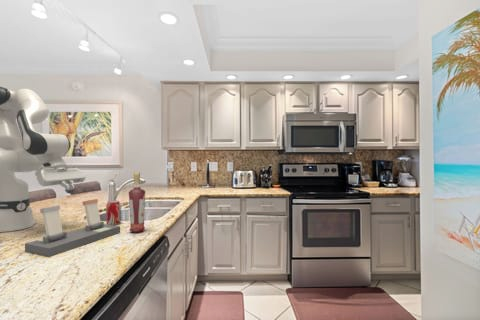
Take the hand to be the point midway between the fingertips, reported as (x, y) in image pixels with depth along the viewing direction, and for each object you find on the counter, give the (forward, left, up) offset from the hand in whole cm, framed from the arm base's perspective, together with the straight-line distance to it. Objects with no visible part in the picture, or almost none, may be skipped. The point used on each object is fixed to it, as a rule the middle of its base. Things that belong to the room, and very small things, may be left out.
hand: (70, 188), depth 120 cm
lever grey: (+17, -17, -17) cm, 29 cm away
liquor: (+29, +12, -21) cm, 38 cm away
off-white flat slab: (+17, 0, -17) cm, 24 cm away
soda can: (+7, +18, -21) cm, 28 cm away
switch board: (+16, -8, -20) cm, 27 cm away
